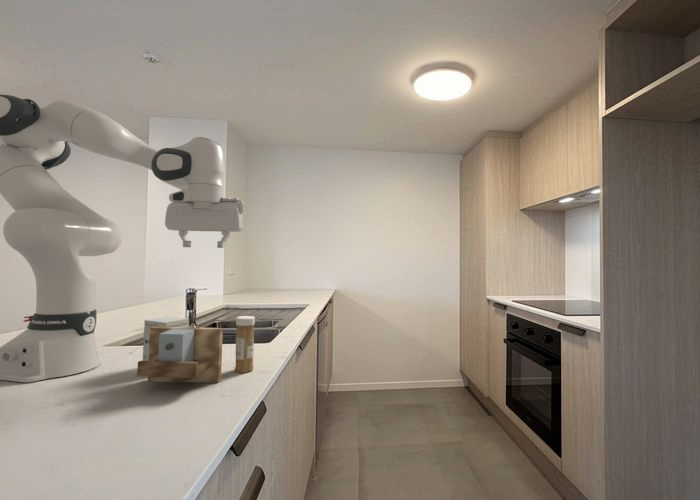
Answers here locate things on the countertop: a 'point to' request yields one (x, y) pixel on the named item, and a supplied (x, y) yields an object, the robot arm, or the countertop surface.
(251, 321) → the sprinkles bottle
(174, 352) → the cabinet box
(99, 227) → the robot arm
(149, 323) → the supplement box
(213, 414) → the countertop surface
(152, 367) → the wall board
